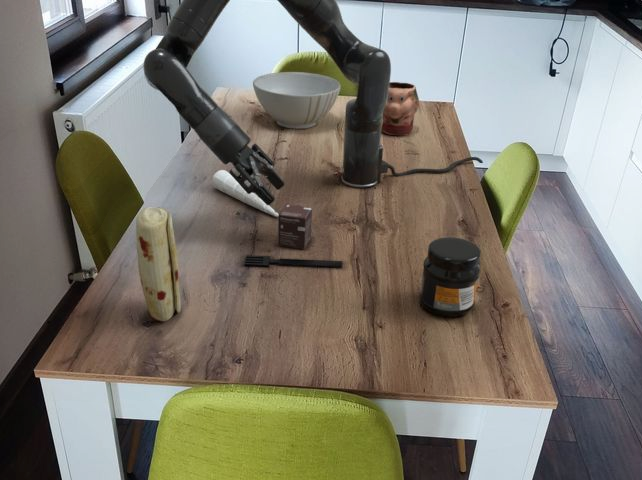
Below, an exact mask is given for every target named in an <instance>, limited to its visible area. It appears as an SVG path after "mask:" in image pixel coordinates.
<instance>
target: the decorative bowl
mask: <svg viewBox="0 0 642 480" xmlns="http://www.w3.org/2000/svg"><path fill="white" fill-rule="evenodd" d="M252 87H253V90H254V93H255V96H256V99H257V100H258V102H259V104H260V105H261V107H262V109H263V110H264V111H265V112H266V113H267V115H268V116H270V117H271V118H273V119H274V120H275V121H276V123H277V125H279V126H281V127H283V128H287V129H294V130H295V129H297V130H298V129H299V130H300V129H309V128H312V127H314V126H315V125H316V124H317V122H318V121H319V120H321V119H322V118H325V116H326V115H327V114H328V113H329V112H330V111H331V109H333V106H335V103H336V102H337V99H338V96H339V94H340V91H341V83H340V82H339V81H338V80H337V79H335V78H334V77H333V78H332V77H330V76H326V75H323V74H318V73H312V72H301V71H281V72H280V71H279V72H271V73H266V74H263V75H262V74H261V75H259V76H257V77H256V78H254V79H253V81H252Z"/></svg>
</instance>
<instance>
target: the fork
mask: <svg viewBox="0 0 642 480" xmlns="http://www.w3.org/2000/svg"><path fill="white" fill-rule="evenodd" d="M243 265H244V267H255V268H256V267H258V268H269V267H270V265H278V267H279V266H281V267H282V266H283V267H301V268H302V267H305V268H324V269H325V268H326V269H327V268H329V269H343V261H342V260H325V259H324V260H320V259H299V258H279V259H277V258H271V255H249V254H248V255H247V254H246V255H245V260H244V264H243Z"/></svg>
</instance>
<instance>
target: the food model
mask: <svg viewBox="0 0 642 480" xmlns="http://www.w3.org/2000/svg"><path fill="white" fill-rule="evenodd" d="M135 236H136V256H137V257H136V258H137V265H138V266H137V267H138V275H139V276H138V277H139V280H140V285H141V289H142V293H143V297H144V300H145V304H146V306H147V311H148V315H149V316H150V318H151V320H152V321H154V322H166V321H168V320H170V319H171V318H172V317H173V316H174V314H175V312H176V313H177V314H180V313H181V310H182V308H181V307H182V305H181V292H180V291H181V290H180V279H179V277H180V275H179V259H178V258H179V257H178V252H177V247H176V240H175V239H176V238H175V231H174V224H173V216H172V214H171V212H170V211H169V210H168V209H167V208H165V207H160V206H159V207H154V206H150V205H149V206H145V207H144V208H143V209H141V210H140V212H139V213H138V214H137V215H136V218H135Z"/></svg>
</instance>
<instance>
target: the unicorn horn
mask: <svg viewBox="0 0 642 480" xmlns="http://www.w3.org/2000/svg"><path fill="white" fill-rule="evenodd" d="M211 183H212V186H213V187H214V189H216V190H218V191H220V192H222V193H224V194H226V195H227V196H228V195H229V197H232V198H234V199H236V200H238V201H240V202H242V203H245V204H247V205H248V206H251V207H253V208H255V209H257V210H259V211H262V212H264V213H266V214H269V215H271V216H273V217H275V218H276V217H277V218H279V213H278V212H277V211H276V210H275V209H274V208H272V206H270V205H266V204H265V203H264V202H263V200H262V199H261V198H260V197H259V196H258V195H257V194H256V193H250V194H248V193H247V192H246V191H245V190H244V189H243V188H242V187H241V186H240V184H239V183H238V182H237V181H236V180H235V179H234V178H233V177H232V175H231V174H230V173H229V171H227V170H224V169H220V170H217V171H216V172H215V173H214V174H213V175H212V180H211Z"/></svg>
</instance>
